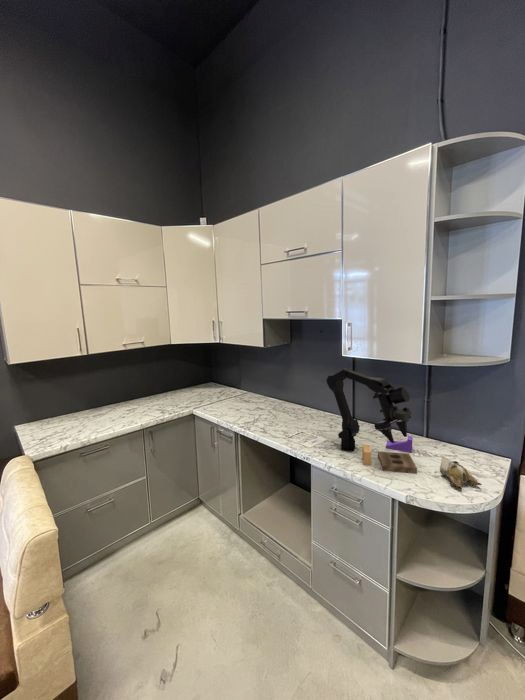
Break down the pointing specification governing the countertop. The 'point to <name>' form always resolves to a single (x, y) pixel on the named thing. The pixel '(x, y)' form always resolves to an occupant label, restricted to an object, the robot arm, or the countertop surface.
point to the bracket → (401, 445)
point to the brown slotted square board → (397, 462)
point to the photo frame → (310, 443)
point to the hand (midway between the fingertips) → (399, 439)
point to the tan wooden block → (366, 454)
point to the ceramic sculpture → (456, 473)
